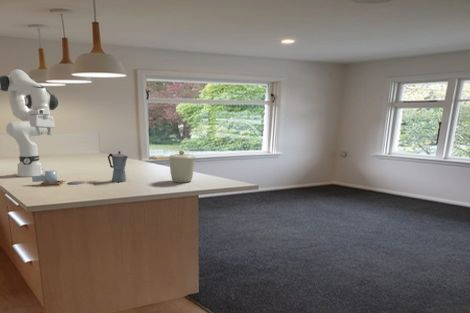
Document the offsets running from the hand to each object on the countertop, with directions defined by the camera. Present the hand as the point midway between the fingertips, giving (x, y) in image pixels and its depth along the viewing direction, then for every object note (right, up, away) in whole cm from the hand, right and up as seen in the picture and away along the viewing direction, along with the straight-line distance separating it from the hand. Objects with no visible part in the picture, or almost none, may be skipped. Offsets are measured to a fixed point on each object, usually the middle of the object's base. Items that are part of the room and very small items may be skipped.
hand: (44, 134), depth 202 cm
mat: (+18, -31, +4) cm, 36 cm away
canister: (+83, -30, +17) cm, 90 cm away
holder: (+4, -31, 0) cm, 32 cm away
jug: (+1, -31, -1) cm, 31 cm away
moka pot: (+40, -30, +16) cm, 53 cm away
